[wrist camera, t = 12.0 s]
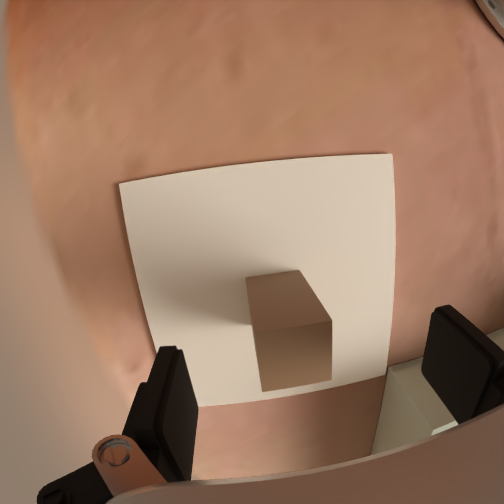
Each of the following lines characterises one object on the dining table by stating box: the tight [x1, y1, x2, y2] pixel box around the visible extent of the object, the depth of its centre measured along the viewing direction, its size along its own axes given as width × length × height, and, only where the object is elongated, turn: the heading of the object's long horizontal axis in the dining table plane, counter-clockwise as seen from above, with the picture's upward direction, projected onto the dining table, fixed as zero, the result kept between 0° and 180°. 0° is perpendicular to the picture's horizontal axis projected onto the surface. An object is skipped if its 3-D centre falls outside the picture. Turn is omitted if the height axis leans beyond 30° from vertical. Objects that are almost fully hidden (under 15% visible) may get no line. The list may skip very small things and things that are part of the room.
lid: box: [119, 154, 395, 407], centre depth 15 cm, size 15×15×7 cm
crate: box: [371, 328, 504, 455], centre depth 19 cm, size 14×14×7 cm
